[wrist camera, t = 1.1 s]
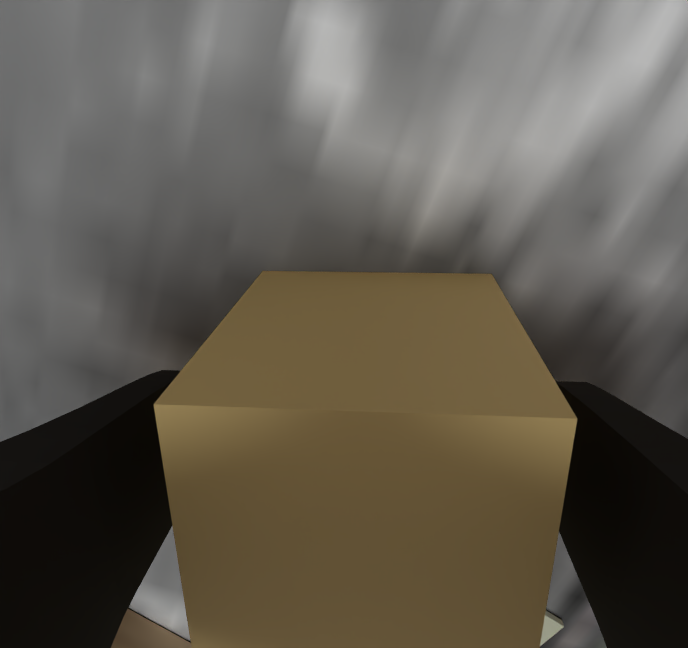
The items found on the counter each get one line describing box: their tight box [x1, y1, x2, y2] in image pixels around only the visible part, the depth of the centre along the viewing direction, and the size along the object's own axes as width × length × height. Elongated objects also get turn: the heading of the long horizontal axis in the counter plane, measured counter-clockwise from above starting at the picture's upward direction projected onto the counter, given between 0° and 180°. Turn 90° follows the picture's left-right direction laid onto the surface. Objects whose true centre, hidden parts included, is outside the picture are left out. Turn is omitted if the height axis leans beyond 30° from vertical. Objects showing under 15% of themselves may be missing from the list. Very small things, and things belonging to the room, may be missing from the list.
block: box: [154, 271, 577, 648], centre depth 10 cm, size 5×5×6 cm
